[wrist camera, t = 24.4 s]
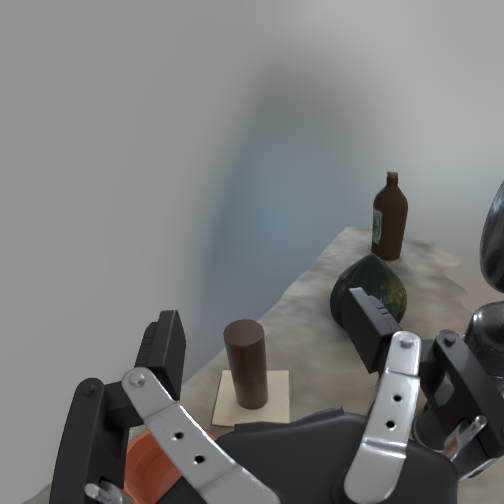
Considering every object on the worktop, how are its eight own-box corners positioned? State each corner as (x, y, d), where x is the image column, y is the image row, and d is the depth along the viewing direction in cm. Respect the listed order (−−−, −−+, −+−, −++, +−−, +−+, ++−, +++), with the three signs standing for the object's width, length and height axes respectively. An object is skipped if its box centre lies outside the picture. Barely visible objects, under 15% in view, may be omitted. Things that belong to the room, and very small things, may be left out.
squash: (367, 346, 38) (410, 261, 38) (304, 308, 50) (341, 237, 50) (390, 353, 46) (424, 286, 47) (338, 322, 58) (368, 264, 59)
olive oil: (395, 246, 81) (402, 170, 70) (406, 261, 71) (416, 177, 61) (365, 246, 82) (370, 168, 72) (374, 261, 73) (381, 174, 62)
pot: (246, 449, 29) (241, 429, 26) (235, 535, 17) (226, 533, 14) (153, 436, 31) (136, 415, 28) (129, 511, 18) (104, 500, 16)
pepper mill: (268, 385, 39) (264, 318, 33) (267, 410, 35) (263, 345, 29) (238, 385, 40) (226, 319, 34) (235, 409, 35) (220, 345, 29)
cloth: (288, 371, 42) (288, 370, 42) (289, 427, 32) (289, 426, 32) (223, 371, 43) (222, 369, 43) (212, 425, 33) (211, 423, 33)
